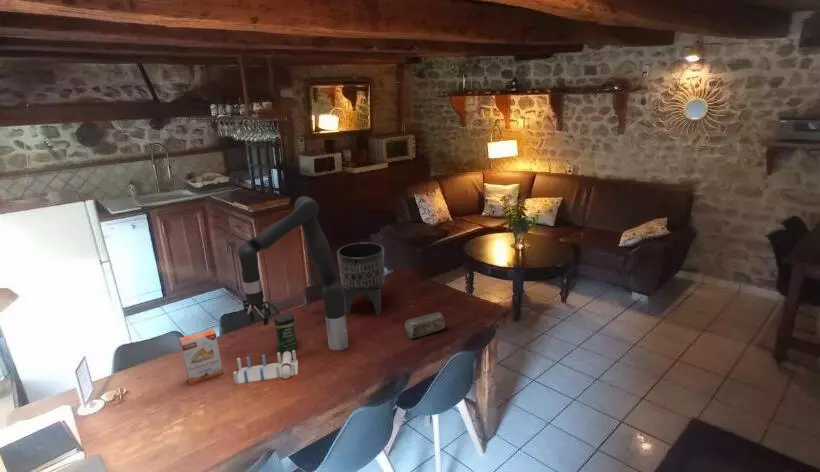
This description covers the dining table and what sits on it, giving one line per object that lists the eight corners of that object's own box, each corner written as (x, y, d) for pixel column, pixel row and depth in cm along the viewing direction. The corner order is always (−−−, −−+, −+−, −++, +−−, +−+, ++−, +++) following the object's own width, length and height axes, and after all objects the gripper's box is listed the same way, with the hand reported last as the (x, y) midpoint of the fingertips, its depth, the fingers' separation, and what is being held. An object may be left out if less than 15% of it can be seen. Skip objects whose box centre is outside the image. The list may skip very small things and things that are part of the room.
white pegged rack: (298, 361, 222) (296, 349, 220) (297, 377, 209) (295, 365, 207) (239, 369, 217) (237, 358, 215) (235, 386, 205) (233, 374, 203)
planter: (349, 298, 283) (344, 241, 272) (391, 300, 279) (387, 242, 268) (337, 319, 259) (331, 257, 248) (382, 320, 255) (378, 258, 244)
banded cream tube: (283, 359, 222) (282, 351, 221) (292, 358, 223) (291, 350, 222) (281, 379, 207) (280, 371, 206) (291, 378, 208) (290, 369, 207)
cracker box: (190, 386, 207) (181, 343, 200) (187, 379, 212) (178, 337, 205) (223, 374, 214) (216, 332, 207) (220, 368, 219) (212, 327, 212)
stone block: (404, 334, 242) (414, 342, 234) (402, 319, 240) (413, 326, 231) (437, 322, 252) (448, 329, 243) (435, 307, 249) (447, 313, 241)
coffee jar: (280, 356, 226) (275, 320, 221) (275, 348, 233) (270, 314, 227) (300, 350, 231) (295, 315, 225) (295, 342, 237) (290, 308, 232)
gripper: (271, 288, 207) (277, 322, 212) (248, 283, 214) (254, 316, 219) (258, 295, 201) (264, 329, 206) (235, 290, 208) (241, 323, 213)
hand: (259, 322), depth 213 cm, fingers open, 8 cm apart
